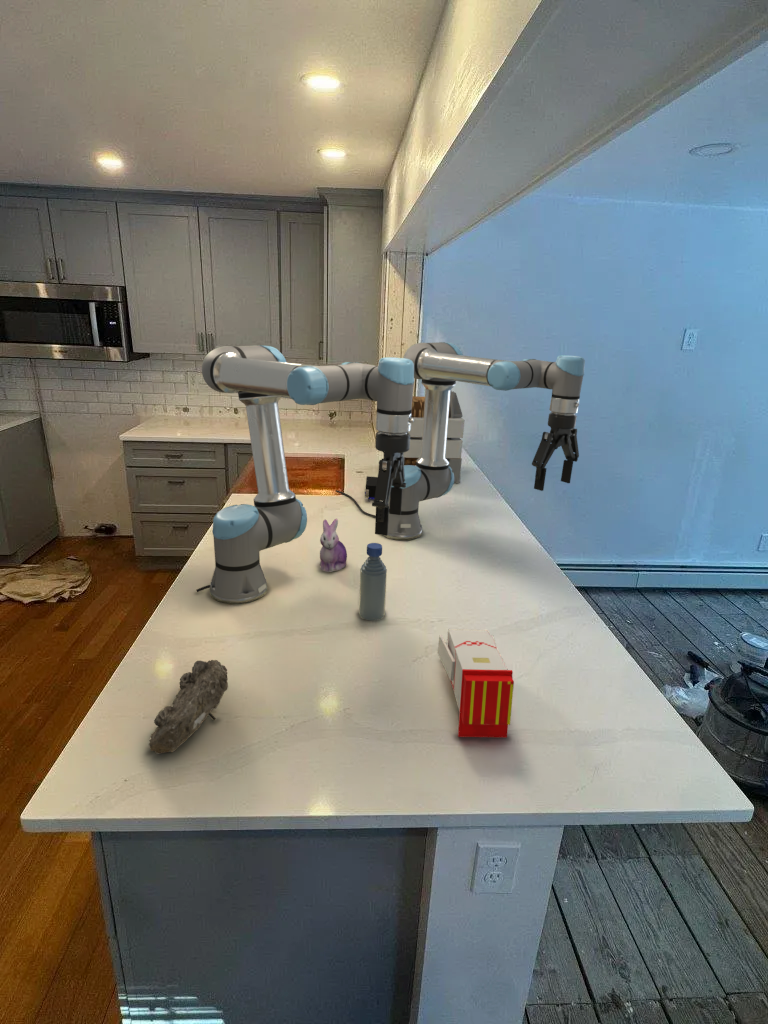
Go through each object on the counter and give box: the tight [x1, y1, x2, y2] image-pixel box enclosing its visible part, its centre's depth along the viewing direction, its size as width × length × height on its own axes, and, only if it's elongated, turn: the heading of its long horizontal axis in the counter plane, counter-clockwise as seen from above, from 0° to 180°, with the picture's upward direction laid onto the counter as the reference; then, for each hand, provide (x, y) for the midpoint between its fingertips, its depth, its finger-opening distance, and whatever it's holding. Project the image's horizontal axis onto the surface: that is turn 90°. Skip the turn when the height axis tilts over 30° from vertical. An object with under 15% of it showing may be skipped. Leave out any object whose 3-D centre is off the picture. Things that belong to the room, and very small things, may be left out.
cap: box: [366, 542, 383, 557], centre depth 141 cm, size 4×4×2 cm
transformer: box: [403, 390, 465, 484], centre depth 268 cm, size 34×33×41 cm
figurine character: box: [364, 475, 378, 502], centre depth 235 cm, size 7×8×15 cm
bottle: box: [358, 556, 388, 622], centre depth 144 cm, size 7×7×19 cm
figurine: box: [319, 518, 348, 573], centre depth 170 cm, size 9×10×15 cm
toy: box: [437, 628, 515, 738], centre depth 117 cm, size 12×13×30 cm
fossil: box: [148, 659, 229, 754], centre depth 106 cm, size 22×10×15 cm
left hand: (388, 523), depth 130 cm, fingers open, 13 cm apart
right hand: (552, 485), depth 166 cm, fingers open, 13 cm apart
